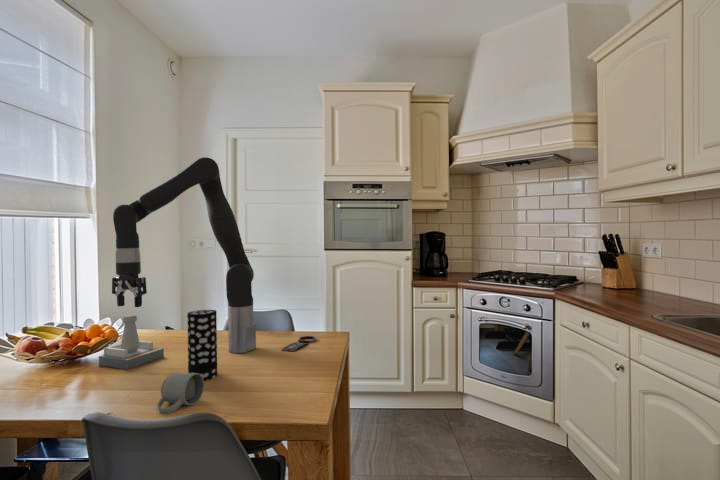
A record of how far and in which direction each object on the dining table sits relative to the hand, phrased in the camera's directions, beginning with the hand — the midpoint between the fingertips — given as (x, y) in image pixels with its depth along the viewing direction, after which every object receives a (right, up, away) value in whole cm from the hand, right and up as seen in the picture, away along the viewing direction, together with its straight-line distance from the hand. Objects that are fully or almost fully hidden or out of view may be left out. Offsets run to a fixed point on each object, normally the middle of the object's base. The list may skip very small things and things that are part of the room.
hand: (129, 306), depth 132 cm
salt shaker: (0, -16, 0) cm, 16 cm away
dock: (+1, -19, 0) cm, 19 cm away
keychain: (+58, -19, +17) cm, 64 cm away
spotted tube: (+33, -19, -17) cm, 42 cm away
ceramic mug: (+36, -19, -37) cm, 55 cm away
